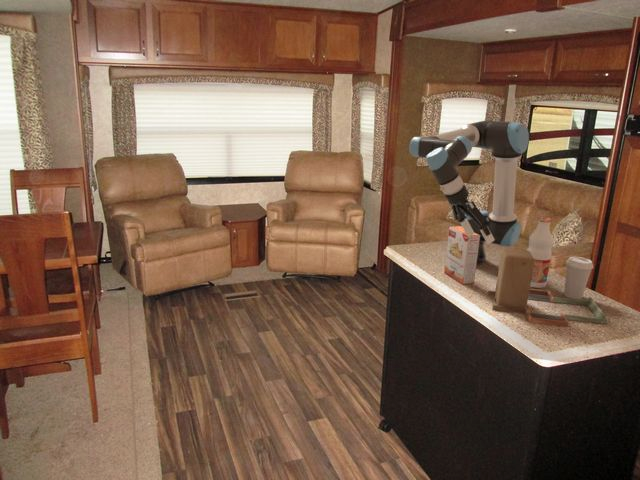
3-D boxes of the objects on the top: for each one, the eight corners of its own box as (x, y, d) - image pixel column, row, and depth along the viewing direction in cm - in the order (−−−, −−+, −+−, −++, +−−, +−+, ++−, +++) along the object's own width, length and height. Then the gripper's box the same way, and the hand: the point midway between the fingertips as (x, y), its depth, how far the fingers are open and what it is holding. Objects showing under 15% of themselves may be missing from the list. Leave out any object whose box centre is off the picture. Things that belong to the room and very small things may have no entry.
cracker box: (443, 272, 213) (448, 226, 207) (455, 271, 215) (461, 225, 209) (461, 284, 200) (468, 235, 194) (474, 283, 202) (481, 234, 196)
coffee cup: (591, 301, 189) (600, 264, 185) (568, 301, 189) (575, 264, 184) (577, 291, 198) (584, 256, 194) (554, 291, 198) (561, 255, 193)
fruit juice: (519, 278, 210) (530, 214, 202) (543, 281, 208) (555, 216, 200) (523, 286, 201) (534, 220, 193) (547, 289, 199) (560, 222, 191)
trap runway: (485, 287, 198) (486, 280, 198) (584, 298, 192) (585, 291, 191) (495, 317, 172) (496, 309, 171) (610, 331, 165) (612, 323, 164)
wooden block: (526, 311, 178) (535, 258, 172) (497, 307, 180) (505, 255, 174) (521, 300, 188) (529, 250, 182) (493, 297, 189) (501, 247, 184)
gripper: (430, 192, 185) (455, 238, 191) (463, 199, 161) (491, 251, 167) (446, 181, 185) (471, 227, 191) (481, 186, 161) (509, 238, 167)
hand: (480, 238), depth 179 cm, fingers open, 13 cm apart
